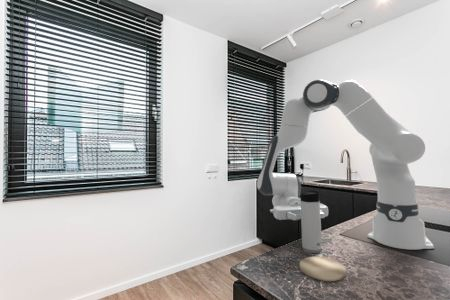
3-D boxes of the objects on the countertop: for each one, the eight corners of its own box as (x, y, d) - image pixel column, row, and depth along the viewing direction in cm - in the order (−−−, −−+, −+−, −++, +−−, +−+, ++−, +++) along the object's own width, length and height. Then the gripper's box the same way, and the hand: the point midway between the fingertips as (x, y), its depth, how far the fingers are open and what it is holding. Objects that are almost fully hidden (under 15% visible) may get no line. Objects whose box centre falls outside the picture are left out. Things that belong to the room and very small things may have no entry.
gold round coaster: (308, 256, 73) (308, 253, 73) (350, 267, 66) (350, 263, 66) (292, 271, 64) (292, 268, 64) (339, 286, 56) (339, 282, 56)
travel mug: (324, 254, 75) (322, 192, 75) (303, 253, 76) (301, 192, 77) (320, 246, 81) (318, 189, 82) (301, 245, 82) (298, 189, 83)
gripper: (268, 201, 92) (280, 209, 79) (316, 198, 95) (336, 205, 81) (268, 217, 92) (281, 228, 78) (316, 214, 95) (337, 223, 81)
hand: (310, 216), depth 80 cm, fingers open, 8 cm apart
